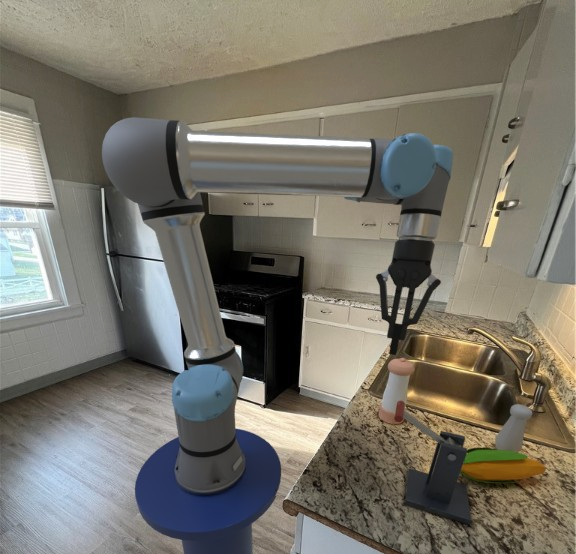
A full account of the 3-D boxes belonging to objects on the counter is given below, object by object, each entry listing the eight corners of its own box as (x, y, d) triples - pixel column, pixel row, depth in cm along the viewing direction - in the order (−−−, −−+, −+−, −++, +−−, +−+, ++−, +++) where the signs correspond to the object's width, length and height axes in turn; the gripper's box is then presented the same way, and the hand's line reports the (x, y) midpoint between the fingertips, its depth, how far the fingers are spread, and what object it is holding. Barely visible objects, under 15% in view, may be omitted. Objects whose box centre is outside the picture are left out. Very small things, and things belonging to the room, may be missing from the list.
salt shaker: (518, 460, 78) (538, 417, 72) (492, 452, 80) (509, 409, 75) (517, 447, 82) (536, 405, 77) (492, 439, 85) (508, 398, 79)
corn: (454, 439, 72) (540, 441, 72) (445, 463, 76) (527, 465, 76) (470, 463, 66) (564, 465, 66) (459, 488, 69) (549, 490, 70)
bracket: (404, 504, 65) (419, 447, 58) (407, 472, 73) (420, 419, 67) (469, 525, 61) (493, 466, 54) (464, 488, 69) (484, 434, 63)
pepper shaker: (406, 415, 95) (419, 357, 86) (400, 427, 89) (414, 366, 81) (382, 407, 98) (392, 351, 90) (375, 418, 92) (385, 359, 84)
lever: (391, 420, 60) (399, 412, 59) (394, 405, 66) (401, 397, 64) (453, 465, 59) (463, 458, 58) (451, 446, 64) (460, 439, 63)
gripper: (449, 243, 63) (423, 354, 71) (383, 239, 68) (366, 344, 76) (452, 240, 57) (423, 363, 65) (379, 236, 61) (360, 351, 69)
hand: (392, 353), depth 70 cm, fingers closed
